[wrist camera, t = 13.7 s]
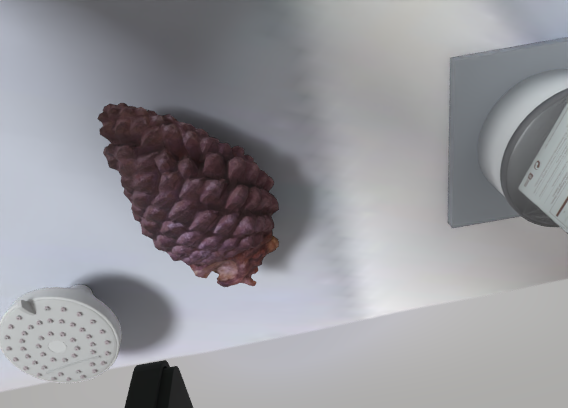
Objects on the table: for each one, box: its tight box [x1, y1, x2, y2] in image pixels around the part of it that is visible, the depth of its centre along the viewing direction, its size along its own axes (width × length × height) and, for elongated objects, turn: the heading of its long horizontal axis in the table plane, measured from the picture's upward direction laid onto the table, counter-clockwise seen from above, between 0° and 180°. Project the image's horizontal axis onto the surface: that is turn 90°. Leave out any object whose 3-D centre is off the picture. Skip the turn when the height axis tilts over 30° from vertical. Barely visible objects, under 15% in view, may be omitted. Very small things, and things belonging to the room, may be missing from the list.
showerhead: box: [0, 284, 122, 383], centre depth 42 cm, size 9×7×10 cm
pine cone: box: [98, 103, 279, 287], centre depth 36 cm, size 18×10×10 cm, turn 35°
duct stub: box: [448, 37, 568, 228], centre depth 39 cm, size 15×15×6 cm
